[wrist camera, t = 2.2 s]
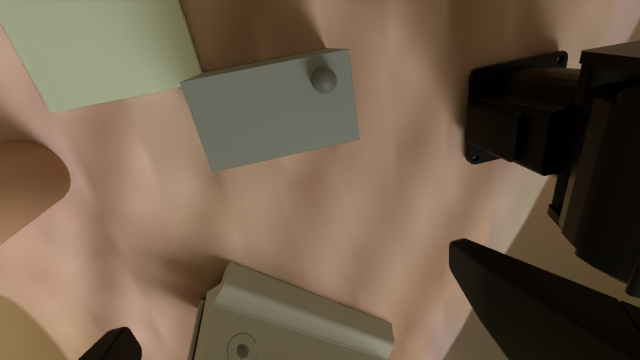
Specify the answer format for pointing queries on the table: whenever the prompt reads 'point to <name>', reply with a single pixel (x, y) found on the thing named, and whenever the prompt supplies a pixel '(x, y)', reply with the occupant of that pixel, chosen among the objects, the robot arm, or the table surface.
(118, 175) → the table surface
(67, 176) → the terracotta cylinder
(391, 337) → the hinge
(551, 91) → the robot arm
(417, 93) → the table surface
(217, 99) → the unit
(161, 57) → the pad
